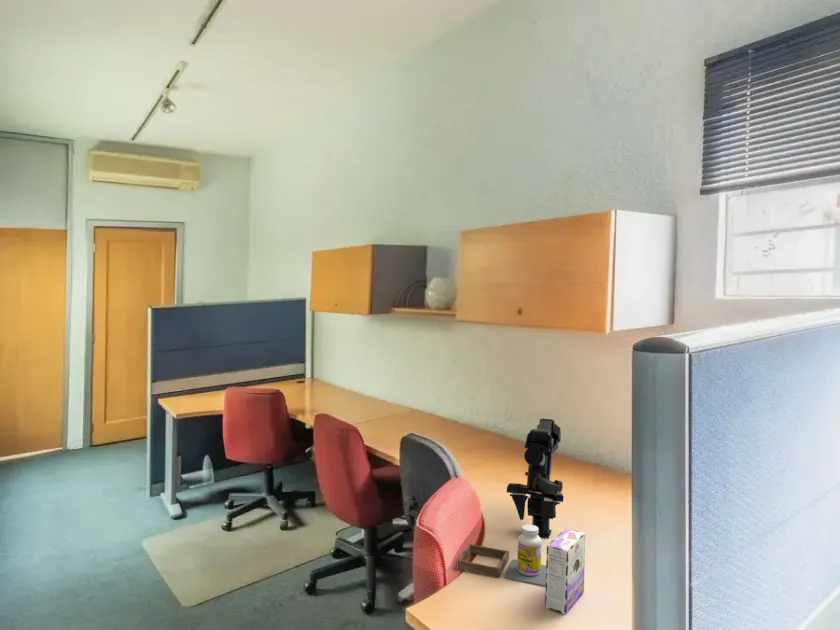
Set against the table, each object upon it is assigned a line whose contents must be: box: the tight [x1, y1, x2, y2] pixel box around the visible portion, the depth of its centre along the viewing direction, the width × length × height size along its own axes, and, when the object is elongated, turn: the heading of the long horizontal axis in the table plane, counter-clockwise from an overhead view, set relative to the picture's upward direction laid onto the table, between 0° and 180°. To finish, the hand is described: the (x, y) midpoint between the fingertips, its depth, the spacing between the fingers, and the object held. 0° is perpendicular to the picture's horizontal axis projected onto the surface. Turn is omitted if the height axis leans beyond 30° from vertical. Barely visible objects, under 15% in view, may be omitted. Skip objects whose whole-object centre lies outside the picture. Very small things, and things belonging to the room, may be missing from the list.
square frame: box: [456, 543, 510, 579], centre depth 166 cm, size 13×13×2 cm
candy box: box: [544, 528, 586, 616], centre depth 147 cm, size 14×6×16 cm, turn 145°
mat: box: [503, 559, 546, 588], centre depth 161 cm, size 12×12×1 cm
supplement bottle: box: [517, 524, 543, 576], centre depth 161 cm, size 7×7×13 cm
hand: (533, 521), depth 172 cm, fingers open, 9 cm apart
